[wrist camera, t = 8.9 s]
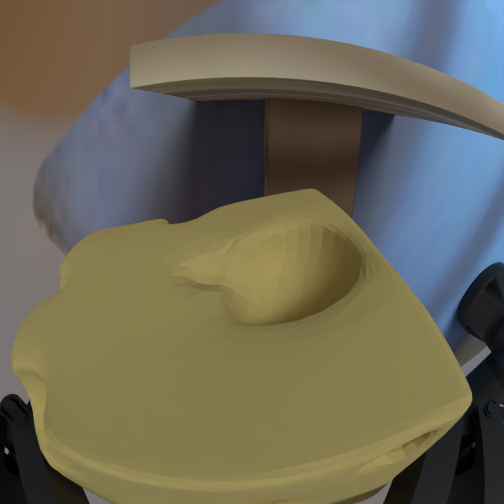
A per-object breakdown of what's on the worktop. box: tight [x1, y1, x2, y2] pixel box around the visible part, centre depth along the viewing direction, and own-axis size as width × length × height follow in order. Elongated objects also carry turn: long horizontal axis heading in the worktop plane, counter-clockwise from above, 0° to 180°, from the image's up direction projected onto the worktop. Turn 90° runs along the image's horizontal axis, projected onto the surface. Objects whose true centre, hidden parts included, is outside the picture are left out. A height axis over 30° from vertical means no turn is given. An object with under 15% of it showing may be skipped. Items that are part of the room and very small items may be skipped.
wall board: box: [130, 33, 504, 218], centre depth 17 cm, size 16×20×18 cm
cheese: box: [11, 189, 472, 504], centre depth 9 cm, size 10×11×10 cm
